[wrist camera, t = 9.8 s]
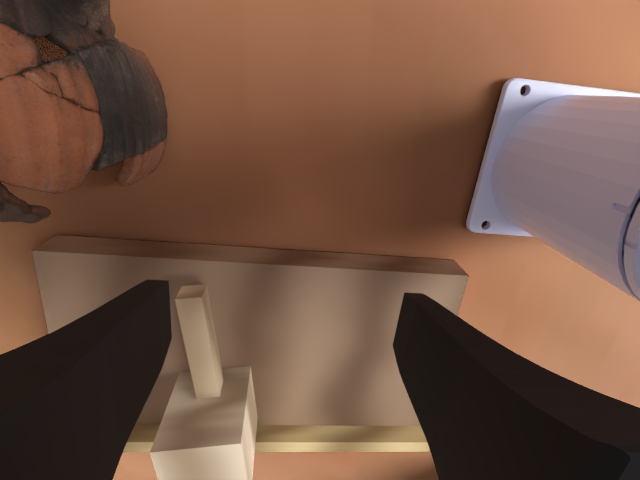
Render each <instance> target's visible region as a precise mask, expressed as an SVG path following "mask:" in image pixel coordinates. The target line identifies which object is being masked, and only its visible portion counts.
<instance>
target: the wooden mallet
mask: <svg viewBox="0 0 640 480" xmlns="http://www.w3.org/2000/svg"><path fill="white" fill-rule="evenodd" d="M175 302H176V307H177V311H178V316H179V321H180V325H181V330H182V334H183V339H184V344H185V348H186V353H187V357H188V362H189V367H190V371H187V372H180V373H179V375H178V378H177V381H176V383H175V386H174V389H173V391H172V394H171V397H170V399H169V402H168V405H167V408H166V410H165V413H164V416H163V418H162V421H161V424H160V426H159V429H158V432H157V434H156V437H155V440H154V442H153V445H152V448H151V451H150V455H151V458H152V462H153V465H154V468H155V471H156V475H157V478H158V480H252V476H253V465H254V453H255V442H256V430H257V419H258V416H257V409H256V402H255V394H254V387H253V380H252V372H251V366H246V367H234V368H221V362H220V357H219V351H218V345H217V339H216V334H215V328H214V322H213V317H212V311H211V305H210V299H209V294H208V288H207V284H204V285H203V284H202V283H196V284H195V285H189V286H181V288H180V290H179V292H178V294H177V296H176V298H175Z"/></svg>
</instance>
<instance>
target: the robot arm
mask: <svg viewBox="0 0 640 480" xmlns="http://www.w3.org/2000/svg"><path fill="white" fill-rule="evenodd" d="M522 86H525V87H526V91H525V93H524V94H523V95H521V94H520V89H521V88H522ZM484 221H487V224H486V225H485V226H484V227H481V225H482V223H483V222H484ZM466 226H467V228H468V229H469V230H470V231H471V232H474V233H487V234H501V235H514V236H528V237H535V238H537V239H539V240H540V241H542V242H544V243H545V244H547V245H548V246H550V247H552V248H553V249H555V250H557V251H558V252H560V253H562V254H563V255H565V256H566V257H568V258H570V259H571V260H573V261H575V262H576V263H578V264H580V265H581V266H583V267H584V268H586V269H588V270H589V271H591V272H593V273H594V274H596V275H598V276H599V277H601V278H602V279H604V280H606V281H607V282H609V283H611V284H612V285H614V286H616V287H617V288H619V289H620V290H622V291H624V292H625V293H627V294H629V295H630V296H632V297H634V298H635V299H637V300H638V301H640V93H632V92H625V91H617V90H609V89H601V88H593V87H585V86H577V85H569V84H561V83H553V82H545V81H538V80H530V79H522V78H512V79H509V80H507V81H506V83H505V84H504V86H503V88H502V91H501V95H500V99H499V102H498V106H497V110H496V113H495V117H494V121H493V125H492V128H491V132H490V136H489V139H488V143H487V147H486V150H485V154H484V158H483V161H482V165H481V169H480V173H479V176H478V180H477V184H476V187H475V191H474V195H473V198H472V202H471V206H470V210H469V213H468V217H467V221H466ZM171 339H172V330H171V312H170V293H169V281H168V280H148V279H147V280H145V281H143V282H141V283H139V284H138V285H136V286H134V287H132V288H131V289H129V290H127V291H126V292H124V293H122V294H121V295H119V296H117V297H115V298H114V299H112V300H110V301H109V302H107V303H105V304H104V305H102V306H100V307H98V308H97V309H95V310H93V311H91V312H90V313H88V314H86V315H84V316H82V317H80V318H78V319H76V320H75V321H73V322H71V323H69V324H67V325H65V326H63V327H61V328H60V329H58V330H56V331H54V332H52V333H50V334H47V335H45V336H43V337H41V338H39V339H37V340H34V341H32V342H30V343H28V344H25V345H23V346H21V347H18V348H16V349H14V350H11V351H9V352H6V353H4V354H1V355H0V480H112V479H113V477H114V474H115V471H116V468H117V466H118V463H119V460H120V457H121V455H122V453H123V450H124V448H125V446H126V443H127V441H128V439H129V437H130V434H131V432H132V430H133V428H134V426H135V424H136V422H137V420H138V418H139V416H140V414H141V412H142V410H143V407H144V405H145V403H146V401H147V399H148V397H149V395H150V393H151V391H152V389H153V387H154V385H155V382H156V380H157V378H158V376H159V374H160V372H161V370H162V367H163V364H164V361H165V358H166V355H167V352H168V349H169V346H170V342H171ZM393 349H394V353H395V358H396V362H397V365H398V369H399V373H400V376H401V378H402V381H403V383H404V386H405V388H406V391H407V393H408V396H409V398H410V401H411V403H412V406H413V408H414V411H415V413H416V415H417V418H418V420H419V423H420V425H421V428H422V430H423V433H424V435H425V437H426V440H427V443H428V446H429V448H430V451H431V454H432V457H433V460H434V464H435V467H436V471H437V474H438V477H439V480H640V408H638V407H636V406H633V405H630V404H628V403H625V402H622V401H620V400H617V399H614V398H611V397H609V396H606V395H604V394H601V393H599V392H596V391H594V390H591V389H589V388H586V387H584V386H582V385H579V384H577V383H575V382H573V381H570V380H568V379H566V378H564V377H561V376H559V375H557V374H555V373H553V372H551V371H549V370H547V369H545V368H542V367H540V366H539V365H537V364H535V363H533V362H531V361H529V360H527V359H525V358H523V357H522V356H520V355H518V354H516V353H514V352H513V351H511V350H509V349H507V348H506V347H504V346H502V345H501V344H499V343H497V342H496V341H494V340H493V339H491V338H489V337H488V336H486V335H485V334H483V333H482V332H480V331H478V330H477V329H475V328H474V327H472V326H471V325H469V324H468V323H467V322H465V321H464V320H462V319H461V318H459V317H458V316H456V315H455V314H454V313H452V312H451V311H449V310H448V309H446V308H445V307H443V306H442V305H441V304H439V303H438V302H436V301H435V300H433V299H432V298H430V297H428V296H427V295H425V294H423V293H404V296H403V300H402V305H401V309H400V314H399V319H398V323H397V328H396V332H395V337H394V341H393Z"/></svg>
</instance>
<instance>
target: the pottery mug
mask: <svg viewBox="0 0 640 480" xmlns="http://www.w3.org/2000/svg"><path fill="white" fill-rule="evenodd" d="M114 34H115V27H114V24H113V22H112V20H111V17H110V0H0V181H2V182H5V183H8V184H11V185H13V186H18V187H20V186H22V187H26V188H29V189H32V190H37V191H45V192H50V193H57V194H58V193H62V192H64V191H66V190H70V189H74V188H75V187H77V186H79V185H81V184H82V183H83V181H84V180H85V178H86V176H87V175H88V172H89V171H90V170H91V169H93V170H95V171H99V170H101V169H104V168H107V167H110V166H112V165H113V164H114V163H117V162H121V161H123V164H122V168H121V170H120V172H119V174H118V176H117V178H116V182H117V183H118V184H119V185H121V186H128V185H130V184H133V183H134V182H136V181H138V180H139V179H141V178H142V177H144V176H145V175H147V174H150V173H151V172H153V171H154V170H155V168H156V167H157V166H158V164H159V163H160V160H161V157H162V155H163V152H164V147H165V143H166V142H165V140H166V137H167V110H166V106H165V100H164V94H163V91H162V87H161V84H160V82H159V80H158V78H157V76H156V75H155V72H154V70H153V68H152V66H151V64H150V63H149V61H148V59H147V58H146V57H145V55H144V54H143V53H142V52H140V51H138V50H135V49H133V48H130V47H129V46H128V45H127V44H125V43H123V42H120V41H119V40H118V39H116V38H114ZM35 37H37V38H38V37H45V38H47V39H48V40H50V41H51V42H53V43H54V44H56V45H57V46H59V47H61V48H62V49H63V50H65V51H67V52H68V55H67V56H65V57H64V58H61V59H58V60H54V61H48V62H46V63H44V62H43V60H42V58H41V53H40V50H39V48H38V46H37V44H36V43H35V42H34V40H33V38H35ZM50 214H51V211H50V210H49V209H48V208H46V207H43V206H36V205H29V204H27V203H26V202H25V201H23V200H21V199H19V198H17V197H16V196H15V195H13V194H12V193H11V192H9V191H8V189H7V188H6V187H5V186H4V185H3V184H2V183H1V182H0V221H1V222H9V221H13V222H25V223H35V222H37V221H40V220H42V219H44V218H47V217H48V216H49V215H50Z"/></svg>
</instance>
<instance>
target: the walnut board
mask: <svg viewBox="0 0 640 480" xmlns="http://www.w3.org/2000/svg"><path fill="white" fill-rule="evenodd" d="M32 256H33V261H34V266H35V271H36V276H37V280H38V285H39V290H40V295H41V300H42V305H43V310H44V314H45V319H46V324H47V329H48V334H50V333H52V332H54V331H56V330H58V329H60V328H61V327H63V326H65V325H67V324H69V323H71V322H73V321H75V320H76V319H78V318H80V317H82V316H84V315H86V314H88V313H90V312H91V311H93V310H95V309H97V308H98V307H100V306H102V305H104V304H105V303H107V302H109V301H110V300H112V299H114V298H115V297H117V296H119V295H121V294H122V293H124V292H126V291H127V290H129V289H131V288H132V287H134V286H136V285H138V284H139V283H141V282H143V281H145V280H147V279H148V280H168V281H169V293H170V312H171V330H172V339H171V342H170V346H169V349H168V352H167V355H166V358H165V361H164V364H163V367H162V370H161V372H160V374H159V376H158V378H157V380H156V382H155V385H154V387H153V389H152V391H151V393H150V395H149V397H148V399H147V401H146V403H145V405H144V407H143V410H142V412H141V414H140V416H139V418H138V420H137V422H136V424H135V426H134V428H133V430H132V432H131V434H130V437H129V439H128V441H127V443H126V446H125V448H124V450H123V452H150V451H151V448H152V445H153V442H154V440H155V437H156V434H157V432H158V429H159V426H160V424H161V421H162V418H163V416H164V413H165V410H166V408H167V405H168V402H169V399H170V397H171V394H172V391H173V389H174V386H175V383H176V381H177V378H178V375H179V373H180V372H187V371H190V367H189V362H188V357H187V353H186V348H185V344H184V339H183V334H182V330H181V325H180V321H179V316H178V311H177V307H176V302H175V298H176V296H177V294H178V292H179V290H180V288H181V286H189V285H195V284H196V283H202V284H203V285H204V284H207V288H208V294H209V299H210V305H211V311H212V317H213V322H214V328H215V334H216V339H217V345H218V351H219V357H220V362H221V368H234V367H246V366H251V372H252V380H253V387H254V394H255V402H256V409H257V416H258V419H257V430H256V442H255V452H426V451H429V450H430V448H429V446H428V443H427V440H426V437H425V435H424V433H423V430H422V428H421V425H420V423H419V420H418V418H417V415H416V413H415V411H414V408H413V406H412V403H411V401H410V398H409V396H408V393H407V391H406V388H405V386H404V383H403V381H402V378H401V376H400V373H399V369H398V365H397V362H396V358H395V353H394V349H393V341H394V337H395V332H396V328H397V323H398V319H399V314H400V309H401V305H402V300H403V296H404V293H423V294H425V295H427V296H428V297H430V298H432V299H433V300H435V301H436V302H438V303H439V304H441V305H442V306H443V307H445V308H446V309H448V310H449V311H451V312H452V313H454V314H455V315H456V316H457V315H458V312H459V308H460V305H461V301H462V298H463V294H464V291H465V287H466V284H467V281H468V277H469V275H468V274H467V273H466V272H465V271H464V270H463V269H462V268H461V267H460V266H459V265H458V264H457V263H456V262H455V261H454V260H447V259H431V258H415V257H399V256H383V255H367V254H351V253H335V252H319V251H303V250H287V249H271V248H256V247H240V246H224V245H208V244H192V243H176V242H160V241H144V240H128V239H112V238H96V237H80V236H64V235H55V236H53V237H52V238H50V239H49V240H47V241H45V242H44V243H42V244H41V245H39V246H38V247H36V248H35V249H33V250H32Z"/></svg>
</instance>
